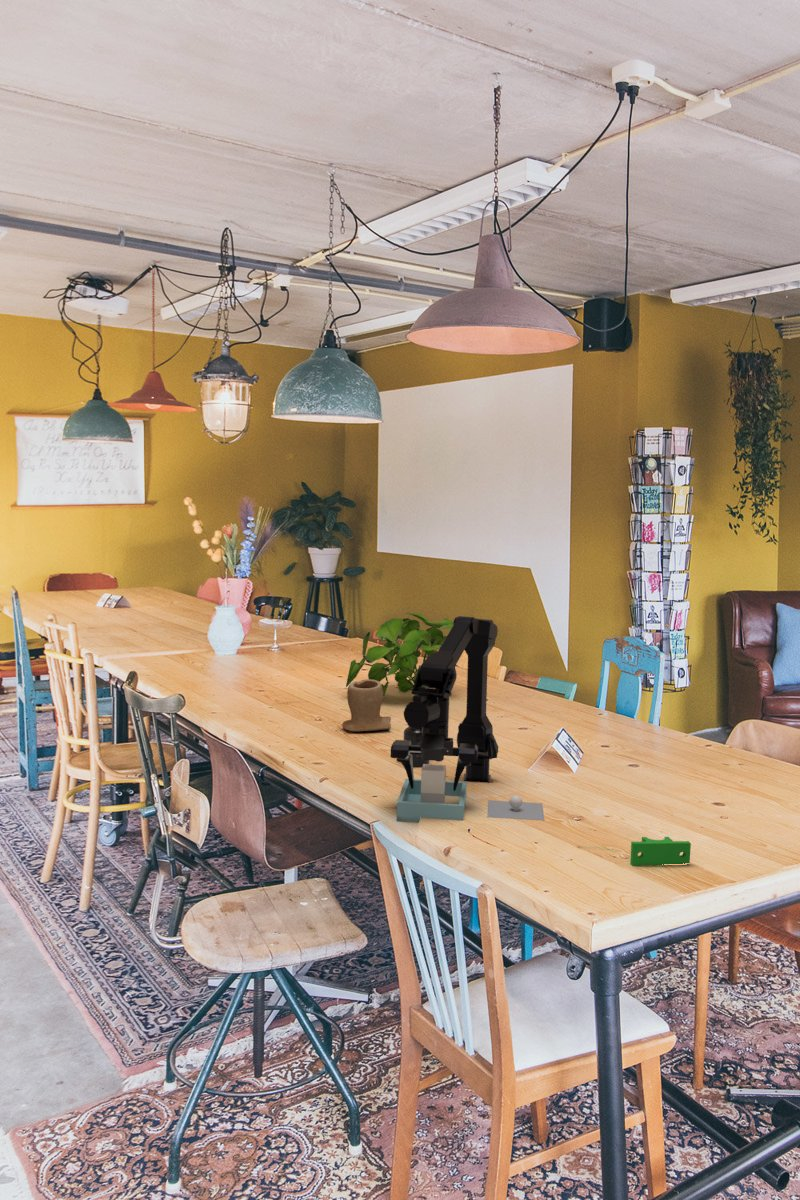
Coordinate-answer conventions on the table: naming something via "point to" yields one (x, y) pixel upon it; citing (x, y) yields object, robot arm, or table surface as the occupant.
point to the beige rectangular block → (433, 783)
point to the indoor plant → (400, 650)
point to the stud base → (515, 809)
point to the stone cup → (366, 707)
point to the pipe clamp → (660, 852)
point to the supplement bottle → (415, 737)
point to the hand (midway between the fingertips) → (433, 789)
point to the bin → (415, 809)
